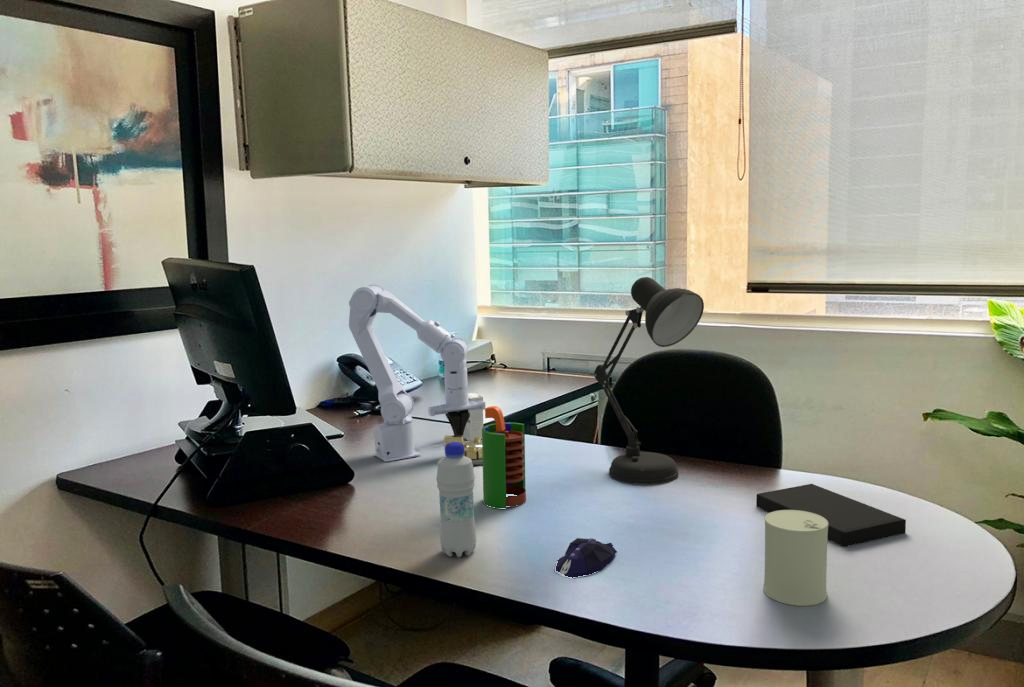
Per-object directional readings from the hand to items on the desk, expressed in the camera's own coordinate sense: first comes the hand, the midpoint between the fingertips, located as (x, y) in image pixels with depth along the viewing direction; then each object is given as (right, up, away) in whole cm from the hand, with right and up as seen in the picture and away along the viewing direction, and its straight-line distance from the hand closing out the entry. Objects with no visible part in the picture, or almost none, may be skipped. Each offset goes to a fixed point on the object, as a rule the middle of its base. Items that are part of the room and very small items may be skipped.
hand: (458, 440), depth 203 cm
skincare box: (+3, -2, +17) cm, 17 cm away
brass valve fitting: (+4, -3, -3) cm, 6 cm away
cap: (+4, -4, -3) cm, 7 cm away
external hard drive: (+73, -9, -51) cm, 90 cm away
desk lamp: (+44, -6, -20) cm, 49 cm away
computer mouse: (+26, -13, -66) cm, 72 cm away
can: (+57, -14, -80) cm, 99 cm away
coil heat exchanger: (+12, -9, -35) cm, 38 cm away
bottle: (+4, -13, -61) cm, 62 cm away
